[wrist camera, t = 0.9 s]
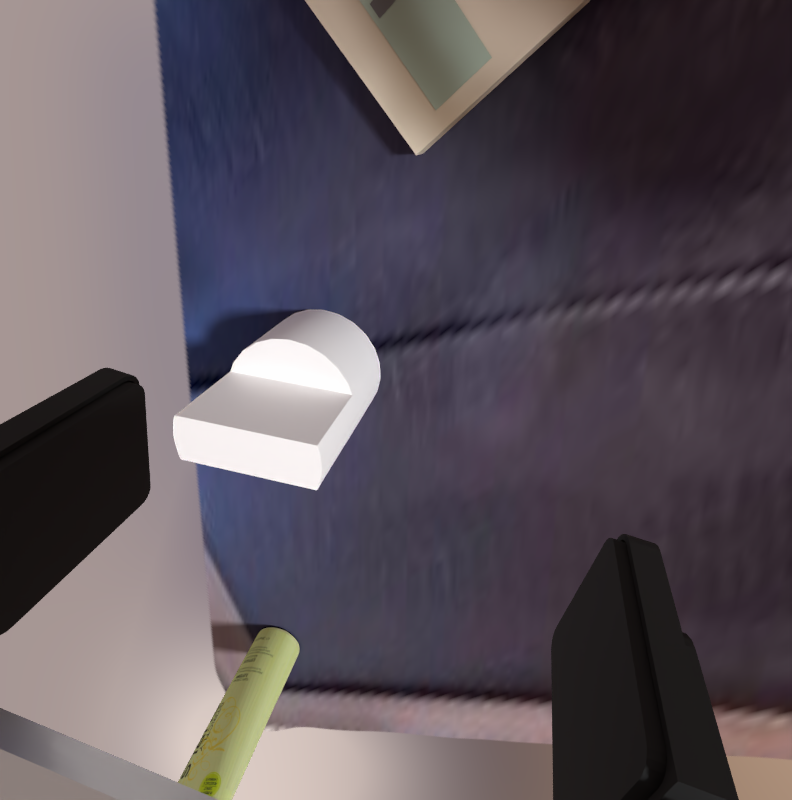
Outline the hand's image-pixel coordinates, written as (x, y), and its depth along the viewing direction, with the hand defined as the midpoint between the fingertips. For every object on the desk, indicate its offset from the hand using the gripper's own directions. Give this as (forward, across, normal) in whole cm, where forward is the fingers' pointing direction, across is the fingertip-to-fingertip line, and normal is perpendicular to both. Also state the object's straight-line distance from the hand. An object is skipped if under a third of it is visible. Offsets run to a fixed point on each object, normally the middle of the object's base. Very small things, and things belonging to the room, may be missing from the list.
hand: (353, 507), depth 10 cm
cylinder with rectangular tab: (+26, +9, +12) cm, 30 cm away
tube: (+26, +10, +46) cm, 53 cm away
